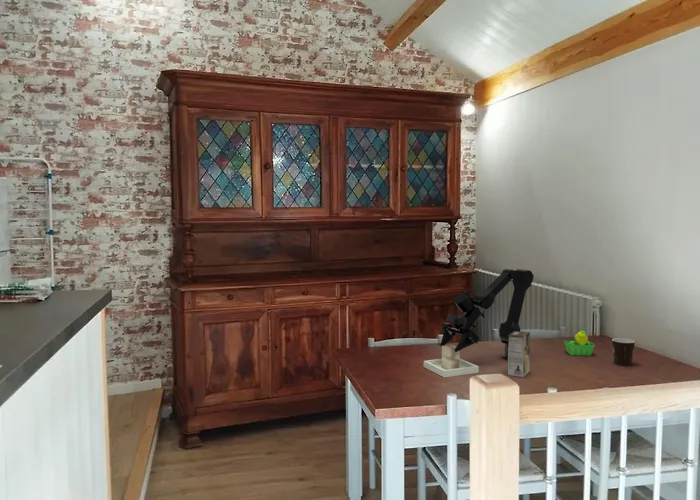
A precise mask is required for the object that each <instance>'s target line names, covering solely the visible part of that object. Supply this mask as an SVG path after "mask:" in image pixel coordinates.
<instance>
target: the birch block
mask: <svg viewBox="0 0 700 500" xmlns="http://www.w3.org/2000/svg"><path fill="white" fill-rule="evenodd" d="M456 346H457V345H455V344H446V345H444V346H442V347H441V359H442V368H444V369H447V370H450V369H457V368H459V358H460V351H458V352H455V348H456Z"/></svg>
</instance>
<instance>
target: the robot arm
mask: <svg viewBox="0 0 700 500" xmlns="http://www.w3.org/2000/svg"><path fill="white" fill-rule="evenodd" d="M511 281H512V285H513V293H512V296H511V297H512V298H511V300H510V305H509V310H508V314H507V316H506V317H507V318H506V321H504V322H501V323H500V325H499V330H498V336H499V338H500V340H501V341H500V342H501V344H504V355H502V356H501V357H502V358H503V359H507V360H508V335H509V334H511V333H512V332H514V331H520V332H521V328H520V327H521V326H520V325H519V324H520V323H519V322H520V317H521V314H522V309H523V305H524V300H525V297H526V292H527V290H528V289H529V288H530V287H532V283H533V281H534V273H533V271H531V270H529V269H521V268H520V269H519V268H518V269H515V270H514V269H512V268H511V269H508V268H505V269H503V270H502V272H501V273H500V274H499V276H498V277H496V278H495V279H494V281H492V283H490V285H488V286H487V288H485V289H483V290H479V291H478V292H477V293H475V294H474V295H473V296H472V297H471V295H470V294H469V292H468V291H465V290H464V291H462V292H460V293H459V294H457V295H456V296H455V297H454V299H453V303H454V304H455V305H456V306H457V308H458V309H459V310H460V311H461V312H462V313H464V314H463V315H462V314H459V315H455V314H452V313H449V314H448V315H447V318H446V322H442V324H441V325H440V328H441V331H442V337H441V341H440V344H439V346H440V348H442V346H445V345H448V343H449V342H450V341H451V340H453V339H454V336H456V335H459V336H461V338H460V340H459V341H458V343H457V344H456V345H455V346H456V348H455V352H458V351H459V352H460V351H461V350H463V349H465V348H467V347H469V346H470V347H471V346H472V345H473V346H474V345H475V344H478V343H479V341H480V336H479V334H477V333H476V332H475V330H473V329H475V328H476V325H475V324H476V323H477V321H478V320H479V319H480V318H482V319H485V316H486V315H485V311H484V310H488V309H490V308H492V305H493V303H495V299H496V297H497V295H498V294H499V293H500V292H501V291H502V290H503V289H504V288H505V287H506V286H507V285H508V284H509V283H511ZM481 309H483V310H481Z"/></svg>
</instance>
